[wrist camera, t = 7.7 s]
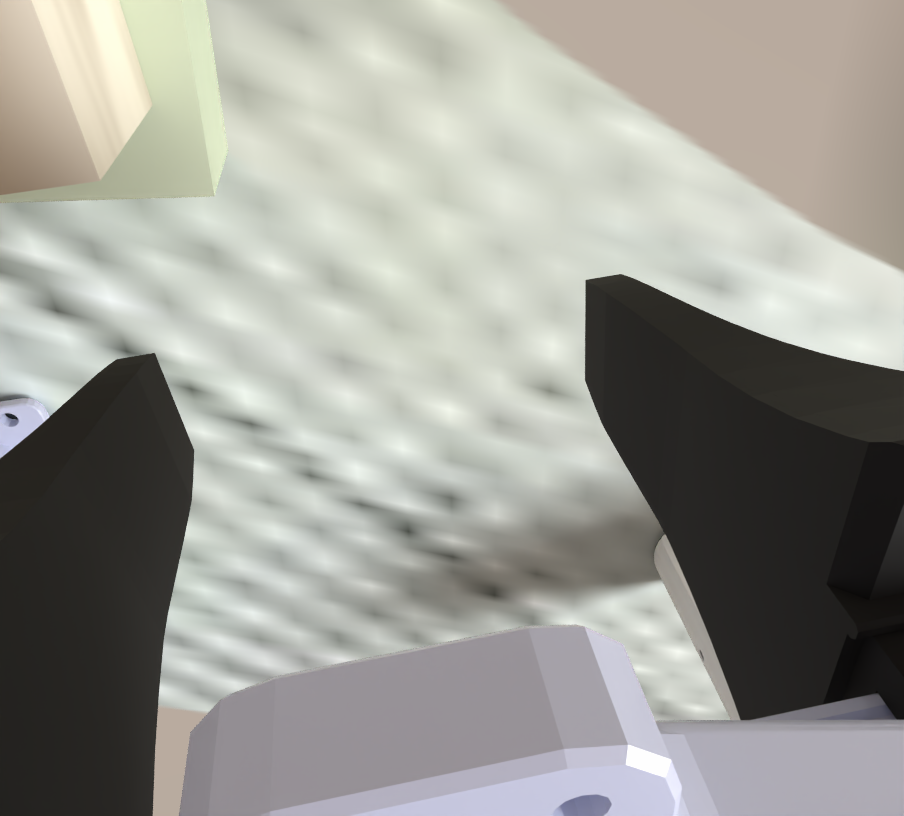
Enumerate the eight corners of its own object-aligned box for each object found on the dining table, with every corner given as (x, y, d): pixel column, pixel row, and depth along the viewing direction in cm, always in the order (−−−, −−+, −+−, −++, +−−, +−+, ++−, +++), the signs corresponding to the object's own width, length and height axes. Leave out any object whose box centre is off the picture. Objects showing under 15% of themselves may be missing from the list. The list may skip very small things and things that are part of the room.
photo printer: (659, 589, 34) (804, 880, 24) (640, 531, 32) (794, 828, 22) (874, 509, 33) (1117, 775, 23) (873, 442, 31) (1145, 709, 21)
